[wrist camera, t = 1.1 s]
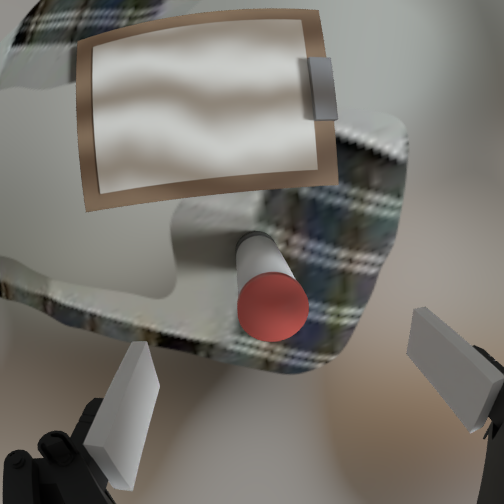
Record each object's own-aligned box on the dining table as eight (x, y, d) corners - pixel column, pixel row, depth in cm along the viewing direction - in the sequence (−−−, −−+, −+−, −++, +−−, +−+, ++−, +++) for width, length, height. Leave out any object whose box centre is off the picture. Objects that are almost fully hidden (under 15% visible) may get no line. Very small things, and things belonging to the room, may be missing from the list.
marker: (232, 232, 30) (233, 281, 17) (276, 228, 30) (308, 273, 18) (236, 273, 31) (241, 345, 19) (279, 269, 31) (309, 336, 19)
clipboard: (83, 45, 23) (72, 37, 21) (314, 16, 24) (321, 5, 22) (92, 209, 28) (80, 214, 26) (333, 183, 29) (342, 185, 27)
